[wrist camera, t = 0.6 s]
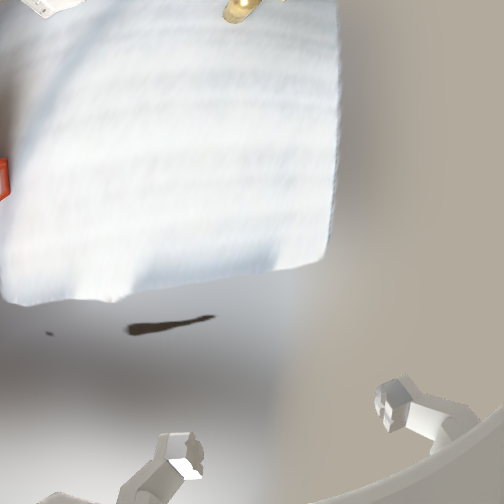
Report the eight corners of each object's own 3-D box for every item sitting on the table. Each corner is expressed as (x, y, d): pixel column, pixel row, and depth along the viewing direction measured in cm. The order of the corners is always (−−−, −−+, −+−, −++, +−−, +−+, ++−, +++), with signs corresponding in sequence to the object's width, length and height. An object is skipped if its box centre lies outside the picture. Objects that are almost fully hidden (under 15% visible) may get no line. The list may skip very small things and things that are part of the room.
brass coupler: (218, 15, 36) (230, -5, 27) (232, 2, 35) (247, -19, 26) (236, 27, 38) (252, 9, 29) (250, 14, 37) (268, -5, 28)
